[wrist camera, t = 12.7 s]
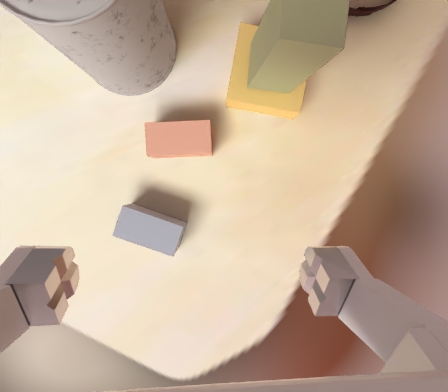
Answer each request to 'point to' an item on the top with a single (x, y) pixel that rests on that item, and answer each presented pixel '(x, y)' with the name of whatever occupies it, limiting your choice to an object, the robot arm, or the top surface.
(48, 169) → the top surface
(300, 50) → the olive brick
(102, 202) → the top surface
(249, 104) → the ochre slab
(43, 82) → the top surface
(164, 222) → the slate brick
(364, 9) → the watch
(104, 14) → the speckled grey cylinder
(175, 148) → the terracotta brick
